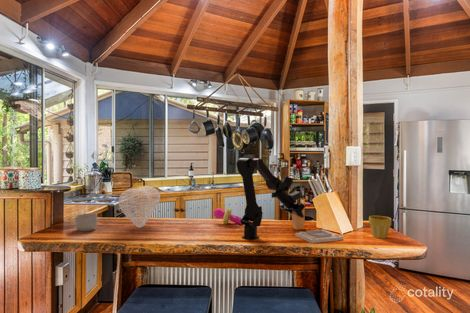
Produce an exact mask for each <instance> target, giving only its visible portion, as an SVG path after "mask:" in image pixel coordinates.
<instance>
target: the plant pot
mask: <svg viewBox="0 0 470 313" xmlns="http://www.w3.org/2000/svg"><path fill="white" fill-rule="evenodd" d="M368 224H369V225H370V230H371V235H372V238H373V237H374V238H376V239H387V238H388V234H389V230H390V227H391V226H392V218H391V217H389V216H383V215H369V217H368Z"/></svg>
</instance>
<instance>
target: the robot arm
mask: <svg viewBox="0 0 470 313" xmlns="http://www.w3.org/2000/svg"><path fill="white" fill-rule="evenodd" d="M235 163H236V167H237V171H238V173H239V174H240V176H241V178H242V184H243V190H244V196H245V203H246V206H245V208H244V214H243V216H242V217H241V224H240V225H243V228H244V229H243V236H241V238H242V239H245V240H250V241H253V240H256V239H258V238H260V236H259V235H258V227H260V226H261V223H262V220H263V214H264V213H263V207H262V205H259V204H258V203H257V197H256V196H257V195H256V190H255V189H256V188H255V183H254V177H253V175H254V172H255V170H257V172H258V173H259V174H260V176H261V177H262V178H263V180H265V185H266V187H267V189H268V190H269V191H273V192H271V198H272V199H273V198H274V199H275V198H276V199H277V200H278V203H279V204H278V207H279V209H281V210H284V211H285V212H287V213H289V214H292V211H293V214H295V215H297V216H300V217H302V218H303V217H304V216H303V213H302V210H303V209H304V208H305V209H306V205H305V204H304V203H303V202H297V200H298V199H301V198H302V197H303V196H302V194H301V192H300V191H297V190H296V191H295V190H294V191H293V190H290V188H291V187H292V186H293V184H294V180H293V179H292V178H290V177H288V175H283V177H282V179H281V178H279V177H277V176H275V175H274V174H273V173H272V171H271V170H270V169H269V168H268V167H267V165H266V164H265V162H264V160H263V158H258V157H257V158H250V157H240V158H238V159H237V161H236V162H235Z"/></svg>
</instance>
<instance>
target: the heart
mask: <svg viewBox="0 0 470 313" xmlns="http://www.w3.org/2000/svg"><path fill="white" fill-rule="evenodd" d="M160 202H161V193H160V191H159V190H158V189H157V188H155V186H151V185H143V186H140V187H138V188H129V189H128V188H127V189H126V190H124V191H123V192H122V193H121V194H120V195H119V198H118V206H119V209H120V211H121V212H122V213H123V214H124V215H125V216H126V217H127V218H128V220H130V221H131V223H132V224H134V226H136V227H137V228H138V229H139V228H143V227H144V226H145V225H146V224H147V222H148V220H149V219H150V217H151V216H152V214H153V212H154V211H155V210H156V209H157V207H158V206H159V204H160Z"/></svg>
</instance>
